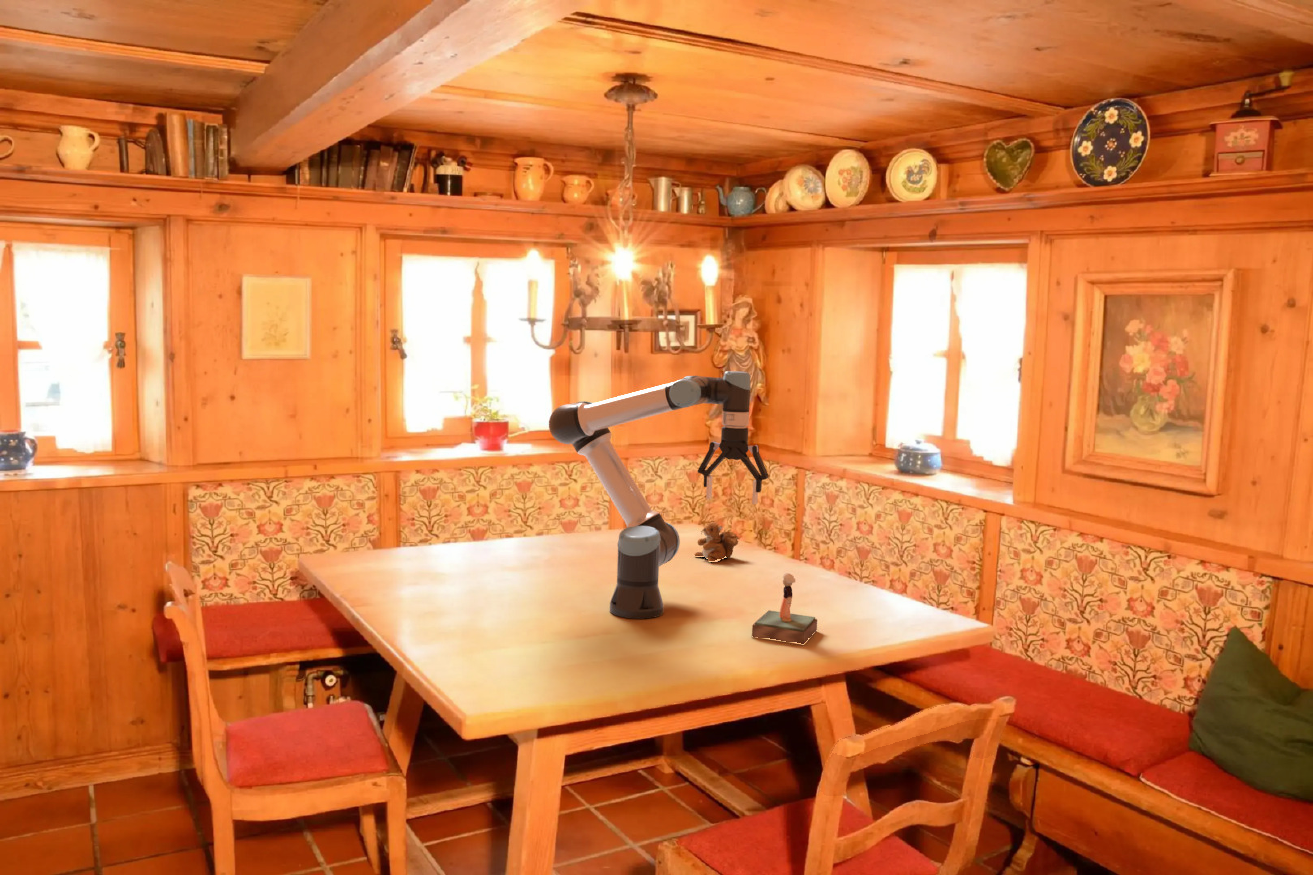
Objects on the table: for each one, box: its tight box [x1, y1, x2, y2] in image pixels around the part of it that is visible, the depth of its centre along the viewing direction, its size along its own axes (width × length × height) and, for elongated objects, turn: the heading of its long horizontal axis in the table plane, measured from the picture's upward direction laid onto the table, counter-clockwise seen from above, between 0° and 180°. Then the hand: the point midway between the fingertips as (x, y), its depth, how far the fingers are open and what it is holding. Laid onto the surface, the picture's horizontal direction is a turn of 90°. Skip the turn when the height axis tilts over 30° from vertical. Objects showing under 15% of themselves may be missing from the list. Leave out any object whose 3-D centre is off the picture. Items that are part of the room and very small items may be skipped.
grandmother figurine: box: [779, 572, 796, 622], centre depth 278 cm, size 8×4×13 cm, turn 9°
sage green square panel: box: [751, 609, 818, 644], centre depth 279 cm, size 14×14×4 cm
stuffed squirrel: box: [693, 521, 740, 562], centre depth 362 cm, size 10×14×13 cm
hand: (731, 501), depth 296 cm, fingers open, 13 cm apart
